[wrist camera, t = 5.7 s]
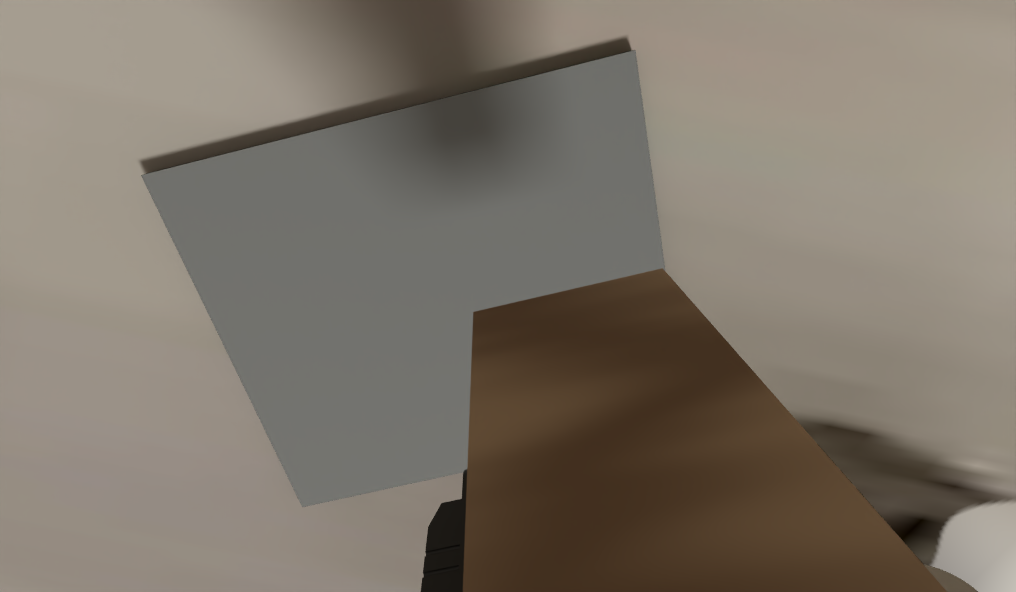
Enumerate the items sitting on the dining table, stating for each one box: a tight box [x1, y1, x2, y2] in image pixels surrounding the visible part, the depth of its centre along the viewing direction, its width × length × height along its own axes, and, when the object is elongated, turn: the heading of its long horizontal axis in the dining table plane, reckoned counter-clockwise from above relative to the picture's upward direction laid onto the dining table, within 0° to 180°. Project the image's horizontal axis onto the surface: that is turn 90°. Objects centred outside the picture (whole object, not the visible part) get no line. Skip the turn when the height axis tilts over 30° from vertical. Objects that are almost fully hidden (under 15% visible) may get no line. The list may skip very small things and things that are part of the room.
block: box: [463, 268, 947, 592], centre depth 9 cm, size 4×6×9 cm, turn 13°
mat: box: [141, 50, 665, 507], centre depth 20 cm, size 16×14×1 cm
